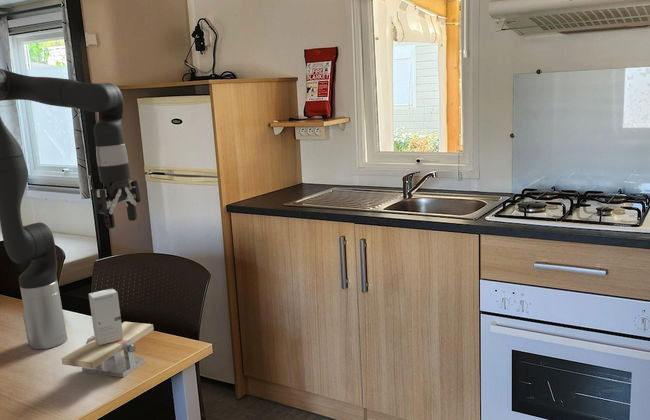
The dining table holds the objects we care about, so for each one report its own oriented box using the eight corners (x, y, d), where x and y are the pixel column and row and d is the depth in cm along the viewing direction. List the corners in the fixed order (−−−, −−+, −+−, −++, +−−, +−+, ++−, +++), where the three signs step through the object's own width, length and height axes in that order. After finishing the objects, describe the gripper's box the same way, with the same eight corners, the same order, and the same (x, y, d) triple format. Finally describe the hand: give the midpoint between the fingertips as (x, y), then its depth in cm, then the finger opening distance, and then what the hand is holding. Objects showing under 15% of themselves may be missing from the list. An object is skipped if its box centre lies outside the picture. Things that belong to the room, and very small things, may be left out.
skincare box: (99, 346, 147) (91, 298, 144) (94, 340, 150) (86, 293, 148) (125, 339, 150) (117, 291, 147) (120, 333, 154) (112, 287, 151)
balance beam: (62, 364, 142) (61, 358, 142) (125, 326, 162) (124, 321, 162) (93, 368, 139) (92, 362, 138) (153, 329, 159) (152, 324, 158)
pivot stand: (80, 371, 150) (75, 344, 149) (103, 357, 158) (99, 330, 156) (125, 377, 145) (121, 349, 144) (146, 362, 153) (142, 335, 151)
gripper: (105, 166, 150) (115, 231, 153) (142, 158, 163) (150, 217, 166) (81, 167, 153) (91, 230, 156) (119, 158, 165) (128, 217, 169)
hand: (122, 224), depth 161 cm, fingers open, 8 cm apart
